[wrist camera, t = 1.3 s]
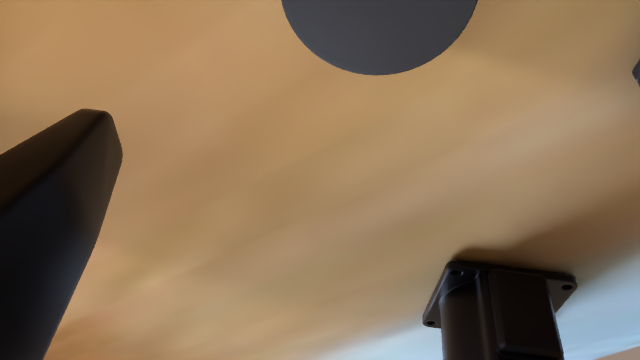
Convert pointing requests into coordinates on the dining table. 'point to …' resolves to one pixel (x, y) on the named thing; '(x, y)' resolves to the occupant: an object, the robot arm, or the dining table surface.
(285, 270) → the dining table surface
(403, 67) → the cap
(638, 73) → the tray
